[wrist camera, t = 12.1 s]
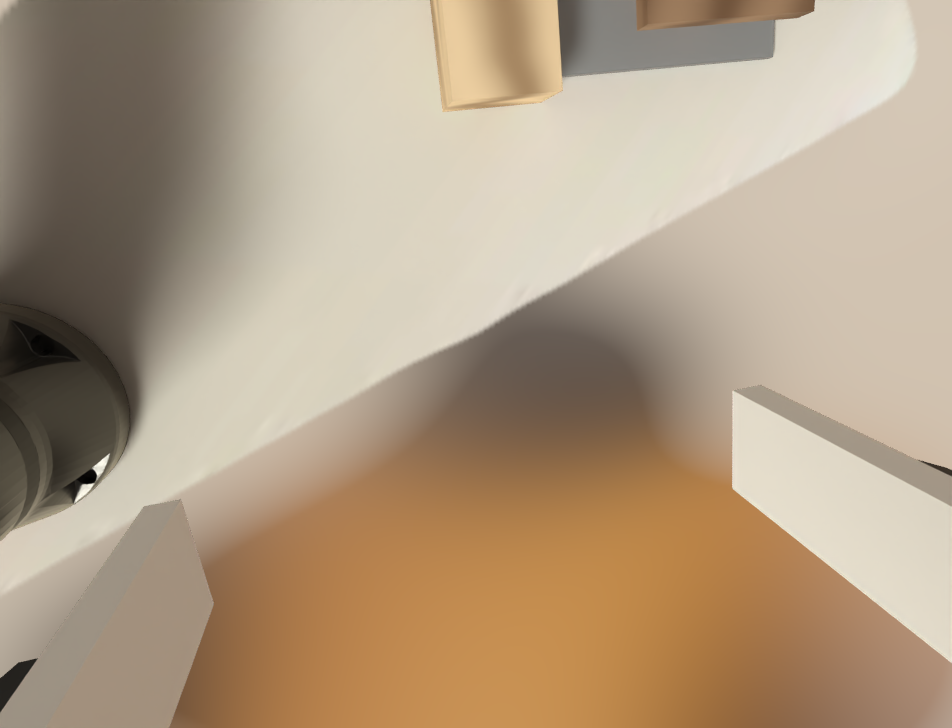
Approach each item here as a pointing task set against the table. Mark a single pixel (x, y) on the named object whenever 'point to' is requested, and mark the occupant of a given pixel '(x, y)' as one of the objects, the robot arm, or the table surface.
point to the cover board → (715, 12)
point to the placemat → (649, 40)
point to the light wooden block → (496, 52)
